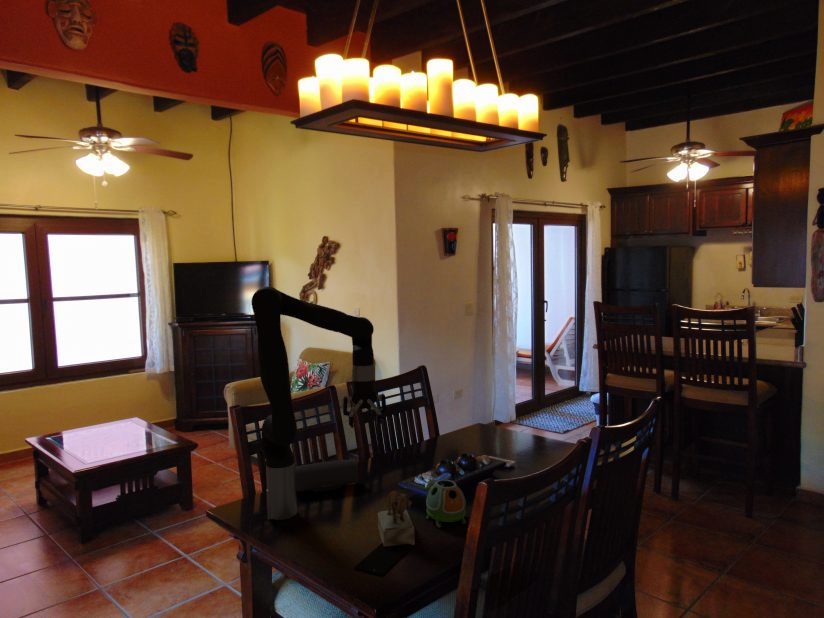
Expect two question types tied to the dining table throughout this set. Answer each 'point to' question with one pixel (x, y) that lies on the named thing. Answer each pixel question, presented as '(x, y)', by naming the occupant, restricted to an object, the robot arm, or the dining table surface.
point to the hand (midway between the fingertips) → (365, 426)
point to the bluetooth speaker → (326, 475)
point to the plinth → (395, 529)
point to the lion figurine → (398, 505)
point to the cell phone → (382, 559)
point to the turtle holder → (445, 502)
